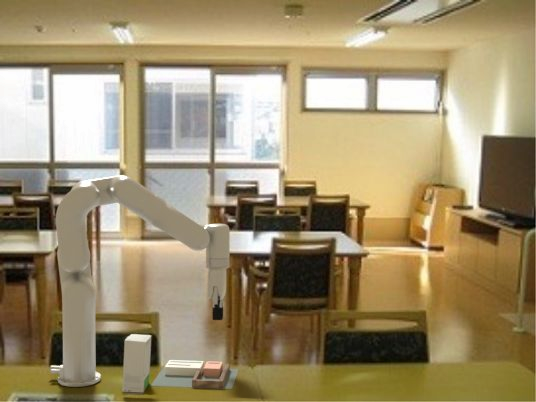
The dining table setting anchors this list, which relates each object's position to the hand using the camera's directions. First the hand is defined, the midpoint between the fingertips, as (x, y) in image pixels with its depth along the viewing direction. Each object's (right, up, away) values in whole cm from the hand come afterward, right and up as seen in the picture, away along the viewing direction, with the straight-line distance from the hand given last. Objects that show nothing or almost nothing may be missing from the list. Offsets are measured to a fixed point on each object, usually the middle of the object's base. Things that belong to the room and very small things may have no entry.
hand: (217, 319), depth 223 cm
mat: (-6, -17, -10) cm, 21 cm away
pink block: (-1, -16, -6) cm, 17 cm away
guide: (-1, -16, -11) cm, 19 cm away
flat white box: (-10, -15, -6) cm, 19 cm away
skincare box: (-23, -17, -20) cm, 35 cm away
